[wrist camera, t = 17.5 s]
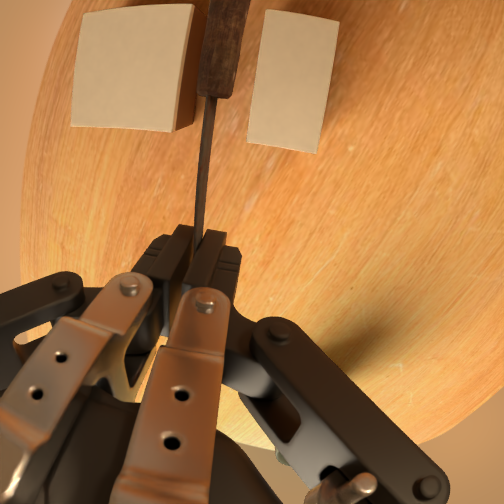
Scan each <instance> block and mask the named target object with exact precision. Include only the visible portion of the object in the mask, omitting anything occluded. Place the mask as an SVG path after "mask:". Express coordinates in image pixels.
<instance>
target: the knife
mask: <svg viewBox="0 0 504 504" xmlns="http://www.w3.org/2000/svg"><path fill="white" fill-rule="evenodd" d="M250 1H251V0H210V4H209V10H208V17H207V24H206V31H205V37H204V41H203V46H202V51H201V57H200V63H199V70H198V79H197V90H196V92H197V94H198V95H199V96H204V97H206V103H205V111H204V118H203V127H202V135H201V144H200V153H199V163H198V174H197V186H196V200H195V217H194V242H193V258H194V256H195V253H196V251H197V249H198V247H199V245H200V243H201V241H202V237H203V225H204V213H205V202H206V191H207V181H208V171H209V162H210V153H211V145H212V136H213V128H214V120H215V113H216V106H217V98H224V99H228V98H229V97H230V96H231V95H232V92H233V87H234V81H235V76H236V71H237V66H238V61H239V56H240V49H241V42H242V36H243V32H244V27H245V23H246V19H247V14H248V10H249V5H250Z"/></svg>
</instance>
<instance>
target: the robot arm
mask: <svg viewBox="0 0 504 504" xmlns="http://www.w3.org/2000/svg"><path fill="white" fill-rule="evenodd" d="M226 236H227V232H222V231H216V230H211V229H207V230H206V233H205V235H204V237H203V239H202V241H201V243H200V245H199V247H198V249H197V251H196V253H195V256H194V258H193V242H194V227H193V226H188V225H182V224H179V225H178V226H177V228H176V229H175V231H174V232H173V234H172V235H165V234H163V235H161V236H159V237H158V238H156V239H154V240H153V241H152V243H151V244H150V245H149V247H148V248H147V249H146V251H145V252H144V254H143V255H142V256H141V258H140V259H139V260H138V262H137V263H136V265H135V266H134V267H133V269H132V270H131V272H127V273H121V274H118V275H116V276H114V277H113V278H112V279H111V280H110V281H109V282H108V283H107V284H106V285H105V287H101V288H98V287H84V286H83V281H82V278H81V277H80V276H79V275H78V274H76V273H73V272H68V271H64V272H58V273H54V274H52V275H49V276H46V277H44V278H41V279H38V280H35V281H33V282H30V283H27V284H25V285H22V286H20V287H17V288H15V289H12V290H9V291H7V292H4V293H2V294H0V504H283V503H282V502H281V501H280V499H279V498H278V497H277V496H276V494H275V493H274V491H273V490H272V489H271V487H270V486H269V485H268V483H267V482H266V481H265V479H264V478H263V477H262V475H261V474H260V473H259V471H258V470H257V468H256V467H255V465H254V464H253V463H252V461H251V460H250V458H249V457H248V456H247V454H246V453H245V452H244V451H243V450H242V449H241V448H240V446H239V445H238V444H236V443H235V442H234V441H233V440H232V439H231V438H229V437H228V436H226V435H225V434H224V433H222V432H220V431H219V430H217V429H216V425H217V417H218V408H219V400H220V391H221V383H222V384H224V385H226V386H228V387H230V388H232V389H234V390H236V391H238V394H239V397H240V399H241V401H242V402H243V404H244V405H245V406H246V408H247V409H248V411H249V412H250V413H251V415H252V416H253V418H254V419H255V420H256V422H257V423H258V424H259V426H260V427H261V428H262V430H263V431H264V432H265V434H266V435H267V436H268V438H269V439H270V440H271V442H272V443H273V444H274V446H275V447H276V448H277V450H278V451H279V452H280V453H281V455H282V456H283V457H284V458H285V460H286V461H287V462H288V463H289V465H290V466H291V467H292V468H293V470H294V471H295V472H296V473H297V475H298V476H299V477H300V478H301V479H302V481H303V482H304V483H305V484H306V485H307V486H308V488H309V489H310V491H309V492H308V494H307V495H306V497H305V500H304V504H446V503H447V501H448V499H449V495H450V483H449V480H448V477H447V475H446V474H445V472H444V471H443V470H442V469H441V468H440V467H439V466H438V465H437V464H436V463H434V461H432V460H431V459H430V458H429V457H428V456H427V455H426V454H425V453H424V452H423V451H422V450H421V449H420V448H419V447H418V446H417V445H416V444H415V443H414V442H413V441H412V440H411V439H410V438H409V437H408V436H407V435H406V434H405V433H404V432H403V431H402V430H401V429H400V428H399V427H398V426H397V425H396V424H395V423H394V422H393V421H392V420H391V419H390V418H389V417H388V416H387V415H386V414H385V413H384V412H383V411H382V410H381V409H380V408H379V407H378V406H377V405H376V404H375V403H374V402H373V401H372V400H371V399H370V398H369V397H368V396H367V395H366V394H365V393H364V392H363V391H362V390H361V389H360V388H359V387H358V386H357V385H356V384H355V383H354V382H353V381H352V380H351V379H350V378H349V377H348V376H347V375H346V374H345V373H344V372H343V371H342V370H341V369H340V368H339V367H338V366H337V365H336V364H335V363H334V362H333V361H332V360H331V359H330V358H329V357H328V356H327V355H326V354H325V353H324V352H323V351H322V350H321V349H320V348H319V347H318V346H317V345H316V344H315V343H314V342H313V341H312V340H311V338H310V337H309V336H308V335H307V334H306V333H305V332H304V331H303V330H302V329H301V328H300V327H299V326H298V325H297V324H295V323H294V322H292V321H290V320H288V319H285V318H282V317H266V318H263V319H261V320H259V321H258V322H257V323H256V322H253V321H251V320H249V319H247V318H245V317H244V316H242V315H241V314H240V313H239V312H238V311H237V310H236V309H235V307H234V305H233V303H234V298H235V293H236V288H237V282H238V276H239V270H240V264H241V258H242V255H241V253H240V251H239V249H238V248H237V247H232V246H226V245H225V244H226ZM49 321H50V322H51V325H52V329H51V330H50V331H49V333H48V334H47V335H45V336H43V337H40V338H38V339H36V340H33V341H31V342H29V343H27V344H24V345H19V344H17V343H16V342H15V341H14V338H15V336H17V335H18V334H20V333H22V332H25V331H27V330H30V329H32V328H34V327H37V326H39V325H41V324H44V323H46V322H49ZM160 335H161V336H165V337H168V340H167V343H166V346H165V345H161V346H160V347H159V349H158V351H157V354H156V343H157V341H158V339H159V336H160ZM155 354H156V357H155V360H154V363H153V366H152V369H151V373H150V376H149V379H148V382H147V385H146V388H145V392H144V395H143V398H142V401H141V403H135V398H136V395H137V392H138V390H139V388H140V386H141V384H142V382H143V379H144V377H145V375H146V373H147V371H148V369H149V367H150V365H151V362H152V360H153V358H154V356H155Z"/></svg>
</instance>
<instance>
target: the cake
mask: <svg viewBox="0 0 504 504" xmlns="http://www.w3.org/2000/svg"><path fill="white" fill-rule="evenodd" d="M206 24H207V17H206V16H205V15H204V14H203V13H202V12H201V11H200V10H199V9H198V8H197V7H195V6H194V5H193V4H155V5H141V6H130V7H121V8H113V9H106V10H100V11H94V12H88V13H84V14H83V18H82V23H81V29H80V34H79V40H78V47H77V54H76V62H75V70H74V80H73V91H72V106H71V127H106V128H125V129H139V130H151V131H162V132H174V131H177V130H179V129H181V128H184V127H186V126H189V125H191V124H193V118H194V111H195V104H196V97H197V92H196V90H197V79H198V70H199V63H200V57H201V51H202V46H203V41H204V37H205V31H206Z"/></svg>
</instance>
